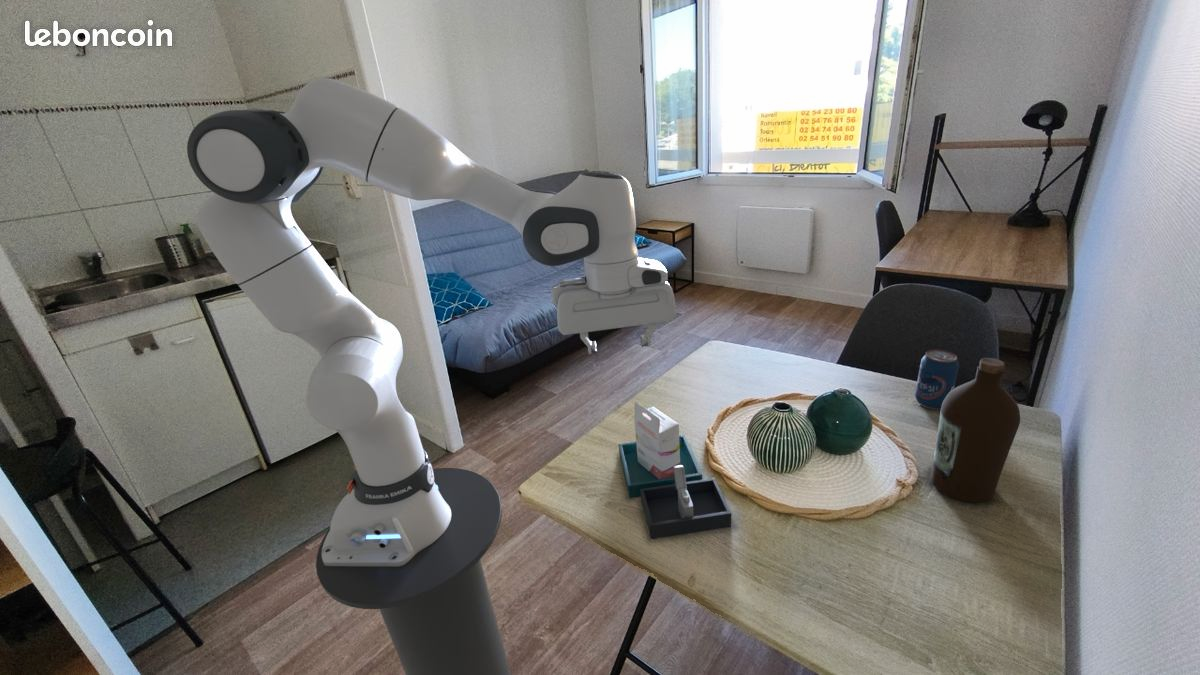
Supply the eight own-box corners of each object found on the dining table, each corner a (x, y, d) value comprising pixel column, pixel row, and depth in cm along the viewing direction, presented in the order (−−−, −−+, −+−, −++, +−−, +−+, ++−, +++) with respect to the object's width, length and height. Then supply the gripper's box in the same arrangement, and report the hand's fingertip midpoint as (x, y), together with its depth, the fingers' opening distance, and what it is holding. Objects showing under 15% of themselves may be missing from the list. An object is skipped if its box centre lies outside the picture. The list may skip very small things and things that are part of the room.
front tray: (650, 539, 86) (649, 525, 85) (640, 501, 94) (639, 488, 93) (731, 527, 87) (731, 513, 85) (714, 490, 95) (714, 477, 94)
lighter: (693, 525, 87) (693, 489, 84) (684, 526, 87) (682, 490, 84) (683, 496, 94) (682, 462, 90) (674, 498, 93) (672, 463, 90)
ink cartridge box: (682, 473, 99) (680, 410, 93) (662, 484, 97) (659, 420, 91) (655, 452, 106) (651, 392, 100) (636, 461, 104) (631, 401, 98)
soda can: (908, 403, 114) (917, 356, 110) (920, 391, 118) (929, 345, 113) (943, 414, 109) (953, 366, 105) (954, 401, 113) (965, 354, 108)
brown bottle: (981, 467, 94) (1014, 347, 84) (1010, 508, 84) (1051, 379, 74) (917, 464, 96) (941, 347, 86) (939, 503, 87) (968, 377, 77)
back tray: (629, 498, 95) (628, 485, 94) (619, 455, 107) (618, 443, 106) (702, 487, 96) (702, 474, 95) (684, 446, 108) (684, 434, 107)
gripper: (549, 287, 79) (560, 365, 85) (677, 271, 80) (679, 349, 86) (549, 275, 85) (559, 349, 90) (668, 260, 86) (671, 334, 91)
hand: (619, 349), depth 88 cm, fingers open, 8 cm apart
